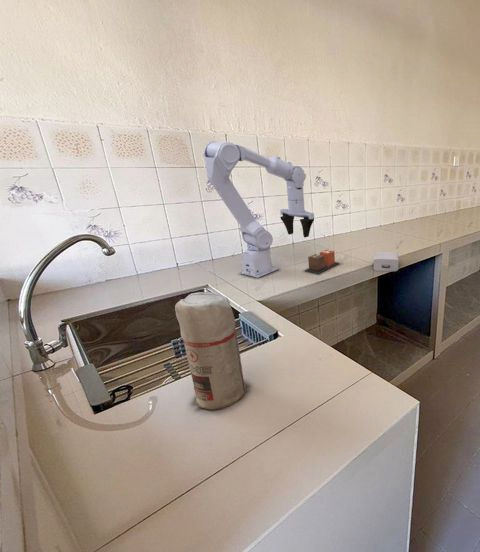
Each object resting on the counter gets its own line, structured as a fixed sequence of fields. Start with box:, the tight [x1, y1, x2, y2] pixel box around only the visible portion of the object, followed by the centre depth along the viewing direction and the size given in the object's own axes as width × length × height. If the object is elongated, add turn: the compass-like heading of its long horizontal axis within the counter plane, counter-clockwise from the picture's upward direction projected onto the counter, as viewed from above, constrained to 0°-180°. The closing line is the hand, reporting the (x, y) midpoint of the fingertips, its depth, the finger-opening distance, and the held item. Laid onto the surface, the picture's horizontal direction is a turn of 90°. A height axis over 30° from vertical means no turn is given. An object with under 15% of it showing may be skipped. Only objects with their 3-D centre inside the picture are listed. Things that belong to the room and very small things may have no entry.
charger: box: [373, 251, 399, 272], centre depth 131 cm, size 5×9×15 cm
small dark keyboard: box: [304, 261, 340, 275], centre depth 126 cm, size 13×6×1 cm, turn 155°
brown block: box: [307, 253, 325, 272], centre depth 122 cm, size 4×4×5 cm
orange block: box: [319, 249, 336, 267], centre depth 128 cm, size 5×4×5 cm
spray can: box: [174, 291, 247, 410], centre depth 58 cm, size 8×8×20 cm
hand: (298, 235), depth 128 cm, fingers open, 7 cm apart
